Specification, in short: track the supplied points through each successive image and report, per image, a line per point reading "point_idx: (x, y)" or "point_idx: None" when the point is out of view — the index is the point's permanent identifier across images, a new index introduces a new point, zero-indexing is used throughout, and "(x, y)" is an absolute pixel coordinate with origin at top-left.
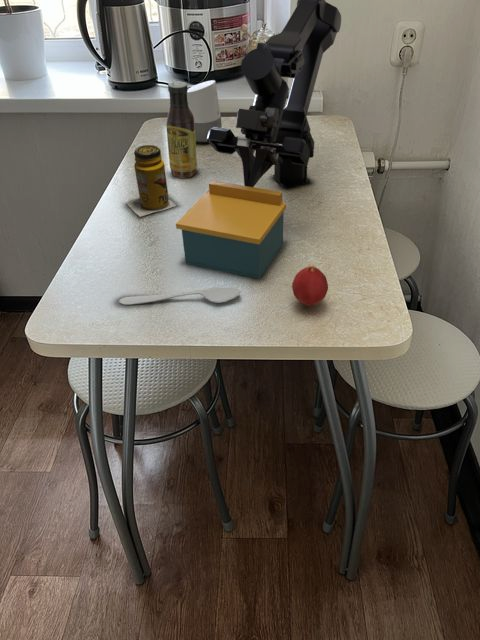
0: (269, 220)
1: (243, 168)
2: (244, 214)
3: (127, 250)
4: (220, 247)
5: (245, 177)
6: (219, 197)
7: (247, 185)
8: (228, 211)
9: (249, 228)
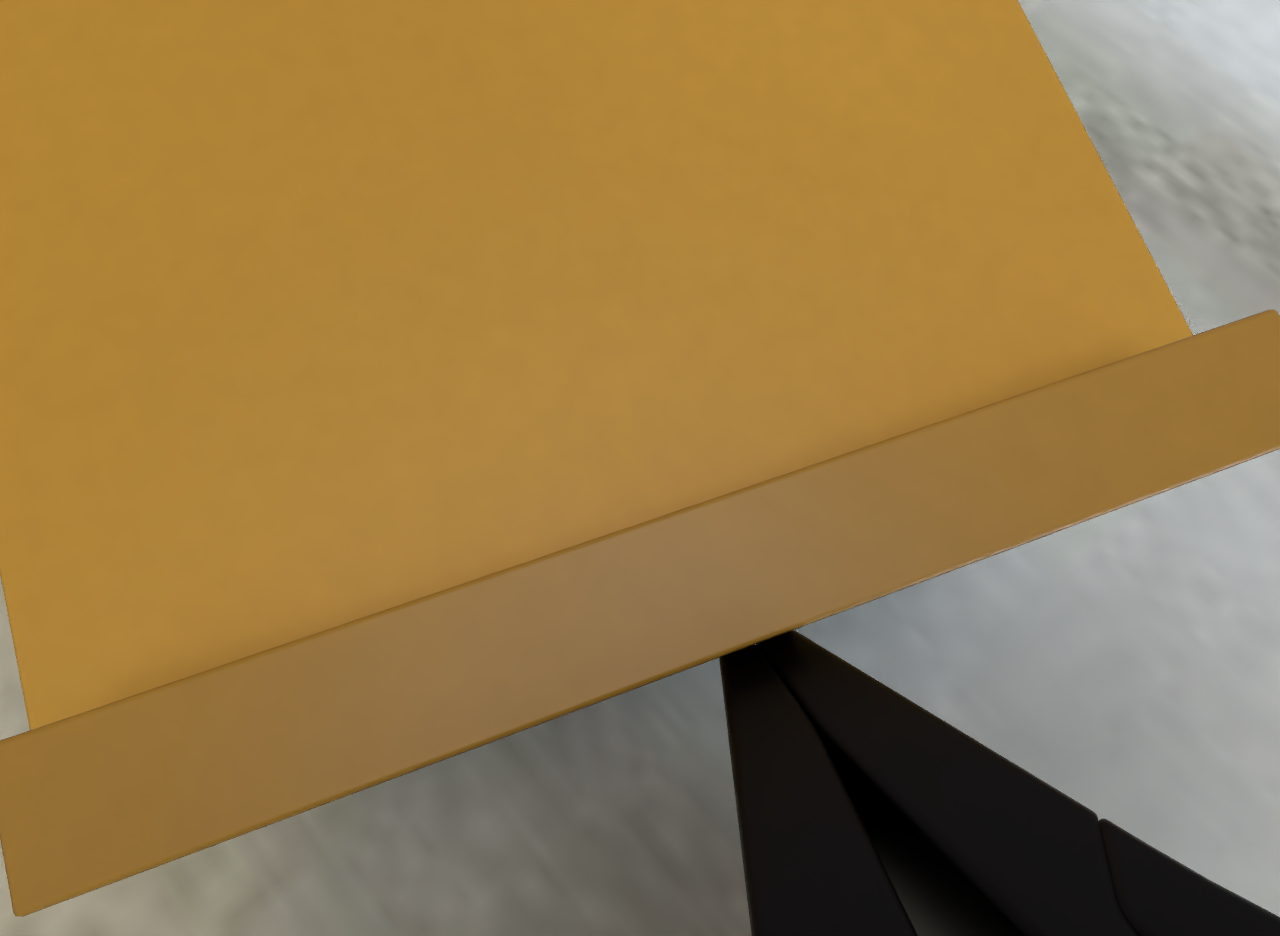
0: (3, 292)
1: (1131, 846)
2: (397, 223)
3: (1146, 9)
4: None
5: (910, 736)
6: (979, 369)
7: (770, 672)
8: (618, 168)
9: (123, 9)
